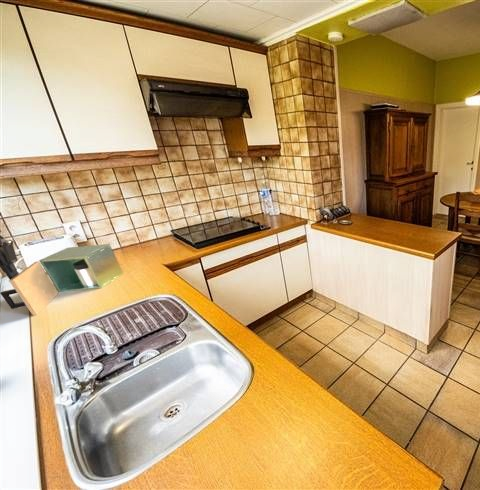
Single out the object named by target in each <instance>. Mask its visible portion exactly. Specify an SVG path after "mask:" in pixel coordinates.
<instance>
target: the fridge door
mask: <svg viewBox="0 0 480 490" xmlns="http://www.w3.org/2000/svg"><path fill="white" fill-rule="evenodd" d="M18 273H19V274H18V275H16V276H15V277H13V278H12V279H11V280H10V279H8V281H9V283H10V284H11V286H12V287H13V288H12V289H7V290H3V291H0V296H1V297H2V298H3V300H4V301H5V302H6V303H7V305H8V307H9V308H10V309H11V310H14V309H18V308H23V307H27V309H28V311H29V312H30V314H31V315H32V316H33V317H34V316H35V317H36V316H38V315H39V314H40V313H41V312H42V310H44V309H45V307H47V306H48V304H50V303H51V301H52V300H54V298H55V297H57V295H58V294H59V292H58V291H57V289H56V287H55V286H54V284H53V282H52V281H51V279H50V278H49V276H48V274H47V273H46V271H45V269H44V268H43V266H42V265H41V263H40V261H39V260H38V261H34V262H33V263H32V264H30V265H29V266H27V267H26V268H24V269H23V270H22V271H20V272H18ZM15 294H17V295H18V296H19V298H20V300H22V301H20V302H16V303H15V302H14V300H13V298H11V296H10V295H15Z"/></svg>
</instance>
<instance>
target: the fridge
mask: <svg viewBox="0 0 480 490" xmlns="http://www.w3.org/2000/svg"><path fill="white" fill-rule="evenodd" d="M83 259H85V261H86V263H87V265H88V267H89V269H90V271H91V272H92V274H93V276H94V278H95V280H96V282H97V284H95V285H92V286H85V285H83V284H82V282H81V281H80V279H79V277H78V275H77V273H76V272H75V270H74V269H75V268H74V266H73V264H74V263H75V262H77V261H80V260H83ZM38 261H39V262H40V264H41V265H42V267H43V269H44V270H45V272H46V274H47V275H48V277H49V278H50V280H51V282H52V283H53V285H54V287H55V288H56V290H57V291H58V293H65V292H67V293H68V292H76V291H77V292H79V291H88V290H97V289H98V290H99V289H103V288H105V287H106V286H108V285H110V284H111V283H112V282H113V281H115V280H116V279H118V278H120V277H121V276H122V275H124V271H123V269H122V267H121V265H120V263H119V260H118V258H117V257H116V255H115V252H114V251H113V249H112V246H111V245H110V243H105V244H95V245H82V246H70V247H65V248H63V249H61V250H59V251H57V252H55V253H52V254H50V255H48V256H46V257H43V258H41V259H39V260H38Z"/></svg>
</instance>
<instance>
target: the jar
mask: <svg viewBox="0 0 480 490" xmlns="http://www.w3.org/2000/svg"><path fill="white" fill-rule="evenodd" d="M73 266H74V268H75V269H74V270H75V272H76V273H77V275H78V277H79V279H80V281H81V282H82V284H83V285H85V286H92V285H95V284H97V282H96V280H95V278H94V276H93V274H92V272H91V271H90V269H89V267H88V265H87V263H86V261H85V259H83V260H80V261H77V262H75V263H74V264H73Z"/></svg>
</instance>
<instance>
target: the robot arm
mask: <svg viewBox="0 0 480 490" xmlns="http://www.w3.org/2000/svg"><path fill="white" fill-rule="evenodd" d="M1 232H2V231H1V229H0V233H1ZM18 261H19V260H18V257H17V254H16V251H15V248H14V240H13V239H9V240H8V239H6V238H4V236H2V235H1V234H0V269H1V271H2V272H3V273H5V275H6V276H7V278H8V280H11V279H12V278H13V277H15V276H16V275H18V274H19V273H20V272H18V269H17V267H16V266H15V264H14V263H16V262H18Z"/></svg>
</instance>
